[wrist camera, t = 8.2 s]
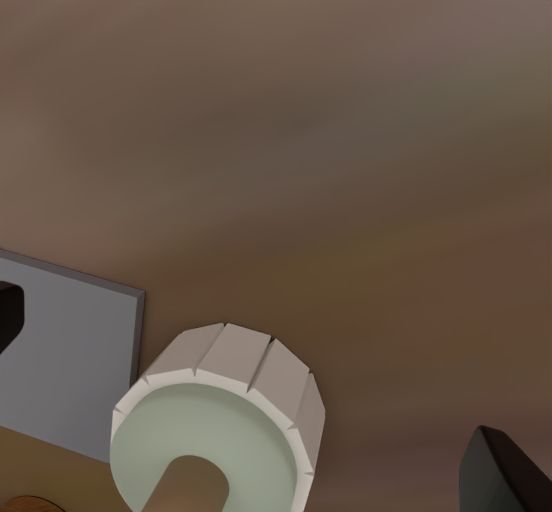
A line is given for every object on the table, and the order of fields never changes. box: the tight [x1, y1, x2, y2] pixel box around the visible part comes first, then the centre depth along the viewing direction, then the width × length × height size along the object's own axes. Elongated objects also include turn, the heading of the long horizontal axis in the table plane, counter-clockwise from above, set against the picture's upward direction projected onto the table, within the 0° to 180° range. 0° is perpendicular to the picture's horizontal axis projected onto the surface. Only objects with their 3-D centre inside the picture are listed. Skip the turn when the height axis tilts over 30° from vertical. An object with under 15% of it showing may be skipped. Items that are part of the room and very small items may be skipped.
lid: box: [110, 383, 297, 512], centre depth 18 cm, size 8×8×5 cm
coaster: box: [0, 249, 145, 464], centre depth 26 cm, size 11×11×1 cm
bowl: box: [110, 323, 326, 512], centre depth 22 cm, size 9×9×4 cm
